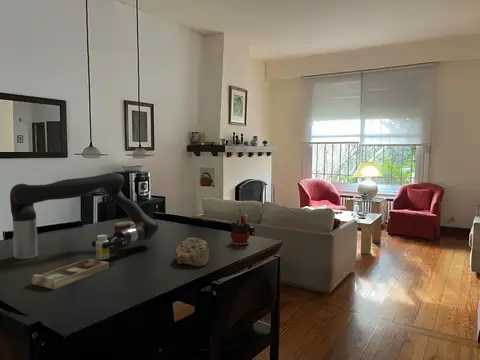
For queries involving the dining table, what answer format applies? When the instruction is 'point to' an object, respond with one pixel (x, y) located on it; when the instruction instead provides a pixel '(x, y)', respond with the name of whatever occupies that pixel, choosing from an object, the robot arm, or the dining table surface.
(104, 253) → the supplement bottle
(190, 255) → the rock
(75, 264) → the wooden tray
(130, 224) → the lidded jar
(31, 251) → the robot arm
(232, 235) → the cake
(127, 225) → the canned food
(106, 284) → the dining table surface
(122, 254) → the dining table surface
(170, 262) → the dining table surface
